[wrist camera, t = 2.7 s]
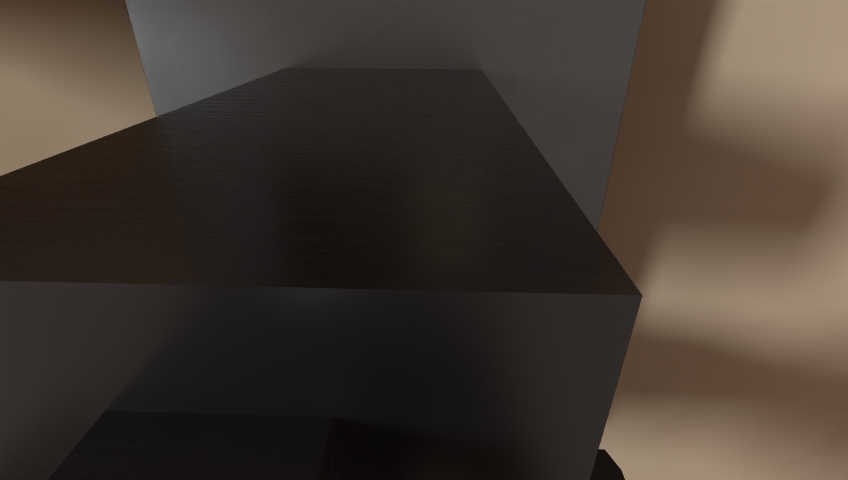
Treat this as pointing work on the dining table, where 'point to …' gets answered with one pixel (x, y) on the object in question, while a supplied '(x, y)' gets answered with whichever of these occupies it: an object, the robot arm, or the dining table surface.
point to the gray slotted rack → (328, 250)
